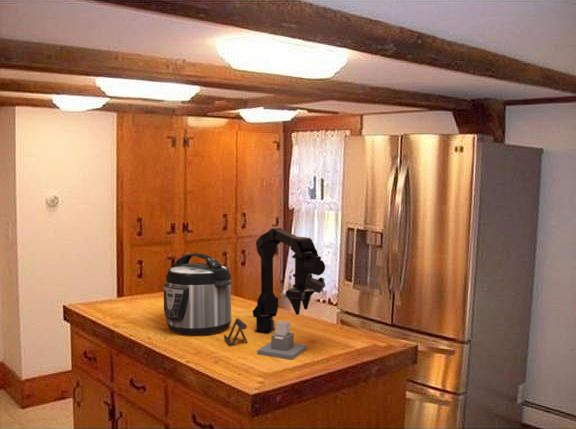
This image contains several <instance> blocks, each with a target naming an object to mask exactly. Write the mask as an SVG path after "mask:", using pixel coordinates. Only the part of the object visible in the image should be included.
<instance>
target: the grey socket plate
mask: <svg viewBox="0 0 576 429" xmlns="http://www.w3.org/2000/svg"><path fill="white" fill-rule="evenodd" d="M270 337H271V338H270V342H269V343H266V344H265V345H263V346H262V347H260V348H259V349H257V350H256V354H257V355H261V356H266V357H273V358H279V359H286V360H291V361H293V360H294V359H296V358H297V357H298V356H299V355H301V354H302V353H304V352H305V351H306V350H307V349H308V345H307V344H303V343H302V344H300V343H295V341H294V340H295V333H293V332H290V335H288V336H287V337H283V336H276V332H274V333H273V334H272V335H271V336H270Z"/></svg>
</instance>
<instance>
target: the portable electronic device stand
mask: <svg viewBox="0 0 576 429" xmlns="http://www.w3.org/2000/svg"><path fill="white" fill-rule="evenodd" d="M236 327H238V329H237V331H236V333H235V336H234V338H233V340H231V337H232V335H233V333H234V330H235V328H236ZM247 328H248V326H247V324H246V323H245V322H244V321H243V320H241V319H240V318H236V319H235V321H234V323H233V325H232V328H231V329H230V332H229V334H228V335H227V336H226V334H224V335H223V339H224V341H225V342H226V343H227V344H228V345H229V346H231V347H233V346H235V344H236V341H237V339H238V336H239V335H240V334H241V336H242V339H243V341H245V344H246V343H248V340H247V338H246V335H245V333H244V331H243V330H246V329H247Z"/></svg>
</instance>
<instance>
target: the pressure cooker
mask: <svg viewBox="0 0 576 429" xmlns="http://www.w3.org/2000/svg"><path fill="white" fill-rule="evenodd" d="M192 257H197V258H200V259H203V260H205V261H206V263H201V262H190V261H191V258H192ZM231 275H232V274H231V273H230V268H229V267H228V266H226V265H222V263H221V262H220V261H219V260H217V259H215V258H214V257H212V256H210V255H208V254H204V253H196V252H195V253H189V254H188V253H187V254H186V255H185V254H184V255H183V256H181V257H179V258H177V259H176V261H175V262H174V263H172V264H171V267H170V268H168V269H167V274H166V276H165V283H163V312H164V316H165V318H166V325H167V327H168V329H169V330H170V331H171V332H173V333H177V334H180V335H181V334H183V335H193V336H194V335H197V336H198V335H199V336H202V335H209V334H215V333H218V332H221V331H224V330H227V329H228V328H229V327H230V325H231V323H232V322H231V321H232V276H231Z"/></svg>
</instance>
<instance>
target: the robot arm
mask: <svg viewBox="0 0 576 429" xmlns="http://www.w3.org/2000/svg"><path fill="white" fill-rule="evenodd" d="M281 243H283V244H284V245H287V246H289V248H290V251H292V252H293V253H294V254H293V255H292V256H291V258H292V259H294V262H295V263H294V273H293V274H292V277H293V278H294V284H293V285H292V287H290V288H289V289H287V290H286V291H285V297H286V298H287V300H289V303H290V304H291V307H292V308H293V310H294V311H293V312H294V313H295V315H300V311H301V306H303V309H304V310H306V311H307V310H308V307H309V303H310V301H311V297H312V295H313V294H314V293H317V294H320V293H322V292H323V291H324V288H325V287H326V282H325V278H324V277H319V278H314V277H313V275H315V276H322V275H323V274H324V272H325V270H326V265H325V263H324V261H323V260H322V257H321V256H319V253H318V251H317V249H316V246H315V243H314V241H313V239H312V238H311V237H307V236H306V237H305V236H297V235H295V234H293V233H291V232H288V231H286V230H285V229H283V228H281V227H276V228H275V227H274V228H273V227H272V228H270V229H269V230H268V231H266V232H265V233H264V234H261V235H260V237H258V238H257V239H256V241H255V247H256V252H257V254H258V256H259V257H260V284H261V286H260V287H261V288H260V290H261V291H260V295H259V296H258V298H257V304H256V306H255V308H254V309H253V311H252V316H253V318H255V320H256V321H255V322H256V324H255V327H256V329H255V330H254V332H255V333H262V334H270V333H272V332H274V331H275V320H274V317H277V313H278V310H279V297H277V296H276V295H275V293H274V257H275V255H276V254H277V251H278V245H280V244H281ZM301 304H302V305H301Z"/></svg>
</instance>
